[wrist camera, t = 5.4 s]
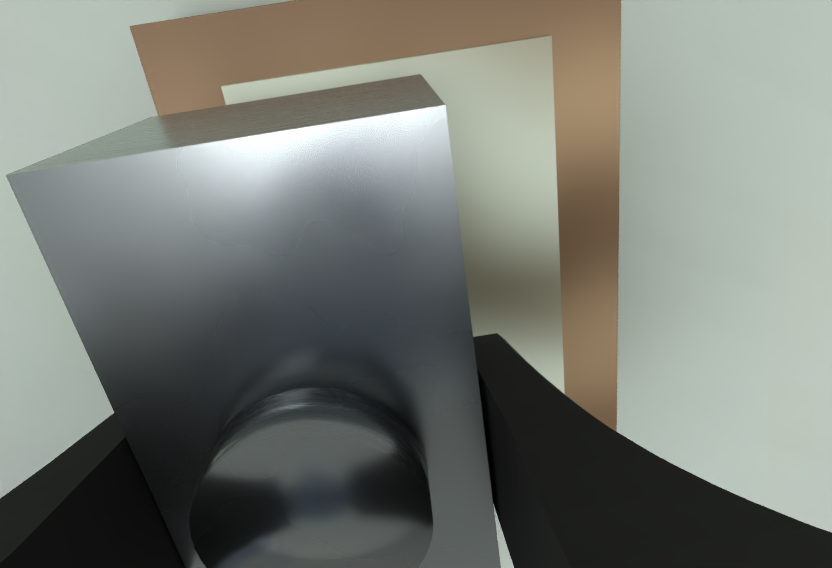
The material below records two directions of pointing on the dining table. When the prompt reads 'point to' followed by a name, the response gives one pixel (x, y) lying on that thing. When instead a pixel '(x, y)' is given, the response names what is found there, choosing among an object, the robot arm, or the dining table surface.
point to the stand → (464, 142)
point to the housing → (282, 325)
